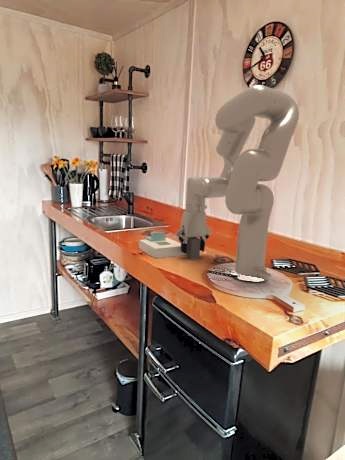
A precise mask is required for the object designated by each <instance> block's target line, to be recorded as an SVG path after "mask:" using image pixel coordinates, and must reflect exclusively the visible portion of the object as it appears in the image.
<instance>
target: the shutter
mask: <svg viewBox="0 0 345 460" xmlns="http://www.w3.org/2000/svg"><path fill="white" fill-rule="evenodd" d="M150 235H151V236H149V235H148V236H144V239H145V240H146V239H148V240H150V241H160V240H166V239H165V238H166V237H165V235H166V232H165V231H156V232H151V234H150Z"/></svg>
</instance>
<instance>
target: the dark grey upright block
mask: <svg viewBox="0 0 345 460" xmlns="http://www.w3.org/2000/svg"><path fill="white" fill-rule="evenodd" d="M186 244H187V253H185V258H188V259H189V260H196V259H200V257H201V256H200V253H201V251H200V238H199V237H191V238H188V240H187V241H186Z"/></svg>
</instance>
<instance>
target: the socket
mask: <svg viewBox="0 0 345 460" xmlns="http://www.w3.org/2000/svg"><path fill="white" fill-rule="evenodd" d="M165 239H166V240H160V241H150V240H148V239H146V238H145V239H139V241H138V243H139V248H138V249H139V250H140V251H142V252H143V253H146V254H147V255H149V257H150V256H151V257H152V258H153V259H163V258H171V257H181V256H186V253H183V252H181V242H178V241H176V240H173V239H171V238H169V237H165Z"/></svg>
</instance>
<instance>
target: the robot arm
mask: <svg viewBox="0 0 345 460" xmlns="http://www.w3.org/2000/svg"><path fill="white" fill-rule="evenodd" d="M256 117H257V118H261V119H265V120H268V121H270V123H269V124H268V126H267V127H266V128H265V130H264V131H263V133H262V136H261V138H260V142H259V146H258V148H249V149H246V150H244V151H243V152H242V150H243V148H244V146H245V145H246V142H247V140H248V139H249V137H250V134H251V132H252V130H253V128H254V127H255V124H256ZM299 118H300V112H299V106H298V104H297V102H296V101H295V99H294V98H293V97H292V96H291V95H289V94H287V93H286V92H284V91H281V90H279V89H276V88H272V87H269V86H267V85H263V84H255V85H252V86H249V87H248V88H246V89H244V90H243V91H241V92H239V93H238V94H236V95H235V96H234V97H232V98H230V99H229V100H228V101H226V102H225V103H224V104H223V105H221V107H219V109H218V110H217V111H216V113H215V119H214V121H215V126H216V127H217V129H218V130H220V131H221V132H222V134H221V135H220V139H219V141H217V142H218V143H217V144H216V148H215V151H216V153H217V154H218V155H219V156H220V157H221V158H223V162H224V163H223V164H224V165H223V169H222V171H221V173H220V175H219V177H216V176H215V177H208V176H207V177H201V176H200V177H199V176H190V177H188V178H187V180H186V192H185V193H186V194H185V211H183V212H182V216H181V220H180V221H181V222H180V227H179V229H178V230H177V231H175V233H174V235H175V236H176V238H177V240H178V241H179V243H181V252H183V253H185V254H186V253H187V244H186V243H187V240H188V238H191V237H196V238H199V239H200V252H205V250H206V242H207V241H208V239H209V238H210V236H211V234H212V230H211V229H210V228H208V222H207V213H206V211H205V210H206V209H207V208H208V206H207V204H206V199H213V198H225V199H224V201H225V205H226V208H227V210H228V211H229V213H232V214H234V215H240V216H241V217H240V219H239V224H238V233H237V245H236V258H235V268H234V269H235V271H236V272H237V273H239V274H241V275H245V276H251V277H257V278H262V279H264V280H266V281H268V280H269V278H271V277H272V273H271V272H268V271H267V268H268V267H267V266H265V263H266V262H265V261H266V253H267V252H266V251H267V243H268V232H269V224H270V220H271V219H270V217H271V216H272V215H271V213H272V211H273V206H274V201H275V198H274V193H273V191H272V189H271V188H270V187H269V186H267V185H265V184H261V183H259V182H269V181H274V180H276V179H277V177H278V176H279V174H280V172H281V170H282V166H283V164H284V161H285V158H286V155H287V152H288V150H289V146H290V144H291V141H292V138H293V135H294V133H295V131H296V129H297V126H298V123H299Z"/></svg>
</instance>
